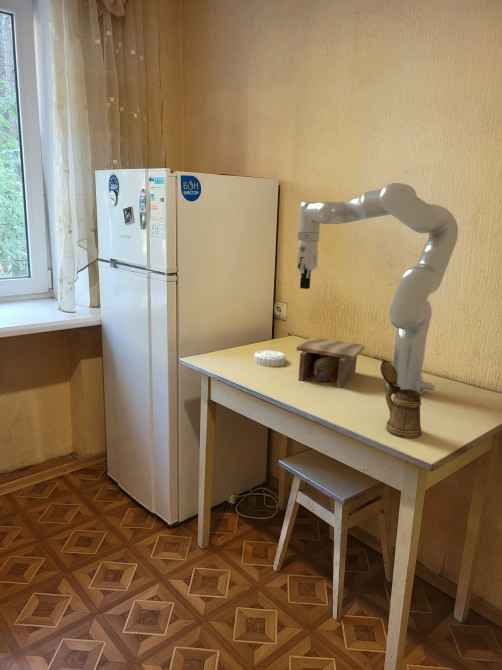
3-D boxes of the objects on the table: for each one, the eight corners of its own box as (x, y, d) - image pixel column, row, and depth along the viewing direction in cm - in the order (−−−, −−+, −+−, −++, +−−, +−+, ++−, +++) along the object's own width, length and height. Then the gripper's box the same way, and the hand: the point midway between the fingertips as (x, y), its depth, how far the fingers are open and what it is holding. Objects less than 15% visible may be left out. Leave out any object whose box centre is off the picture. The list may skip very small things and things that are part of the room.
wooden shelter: (362, 373, 186) (365, 345, 183) (348, 389, 169) (351, 358, 166) (309, 364, 194) (311, 337, 191) (291, 378, 177) (293, 348, 174)
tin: (318, 383, 172) (319, 359, 171) (311, 381, 175) (312, 357, 173) (348, 376, 182) (349, 353, 180) (341, 374, 184) (342, 351, 182)
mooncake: (289, 361, 199) (290, 352, 198) (278, 369, 188) (279, 359, 187) (261, 356, 203) (261, 347, 202) (248, 364, 192) (249, 354, 192)
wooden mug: (385, 416, 147) (392, 356, 143) (427, 433, 137) (436, 369, 133) (366, 423, 142) (372, 361, 138) (408, 441, 132) (417, 375, 128)
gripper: (311, 238, 174) (307, 292, 179) (324, 237, 187) (320, 287, 192) (291, 237, 177) (287, 289, 182) (305, 236, 190) (301, 285, 195)
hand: (304, 288), depth 187 cm, fingers closed
